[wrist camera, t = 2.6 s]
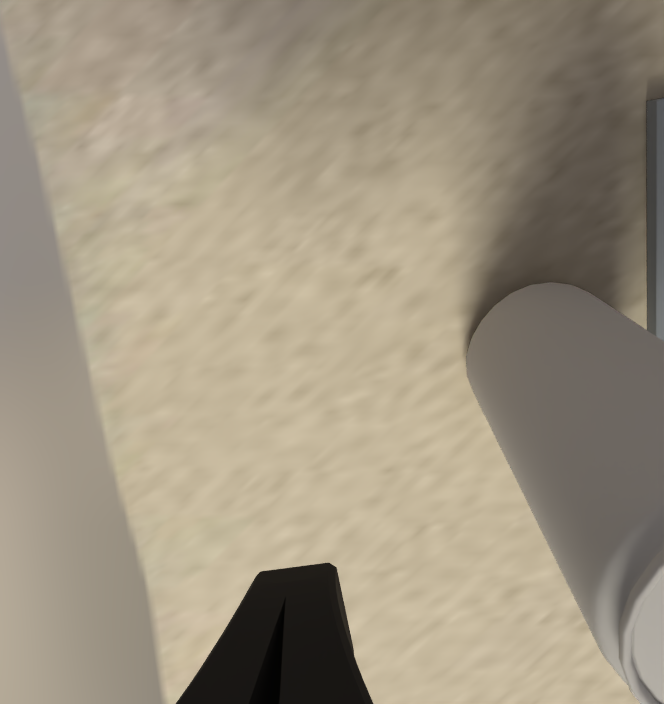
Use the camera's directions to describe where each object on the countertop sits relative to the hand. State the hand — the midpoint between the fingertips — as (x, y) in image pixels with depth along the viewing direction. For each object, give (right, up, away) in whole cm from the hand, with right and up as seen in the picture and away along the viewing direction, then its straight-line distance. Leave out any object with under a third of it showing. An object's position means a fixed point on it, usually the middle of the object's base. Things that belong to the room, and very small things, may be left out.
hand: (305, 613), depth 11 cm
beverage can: (+7, +5, +9) cm, 13 cm away
